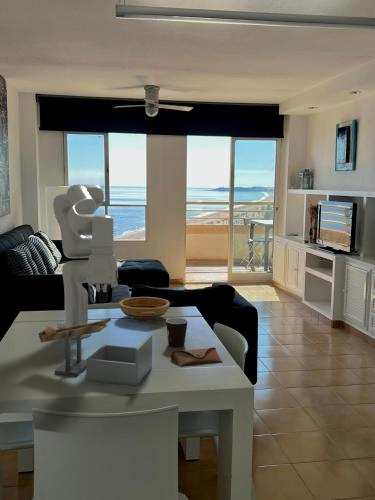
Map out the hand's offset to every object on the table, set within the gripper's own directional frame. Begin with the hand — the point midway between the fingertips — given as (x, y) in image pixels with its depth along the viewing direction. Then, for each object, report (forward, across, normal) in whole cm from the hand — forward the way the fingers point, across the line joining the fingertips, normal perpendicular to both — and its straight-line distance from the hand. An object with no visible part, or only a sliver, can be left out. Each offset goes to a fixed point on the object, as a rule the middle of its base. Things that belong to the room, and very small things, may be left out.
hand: (102, 302), depth 172 cm
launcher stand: (+22, -7, -9) cm, 25 cm away
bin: (+22, +10, -9) cm, 26 cm away
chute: (+10, -7, -4) cm, 13 cm away
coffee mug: (+22, +21, +27) cm, 41 cm away
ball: (+9, -16, -9) cm, 20 cm away
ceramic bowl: (+21, -3, +59) cm, 63 cm away
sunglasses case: (+23, +32, +11) cm, 41 cm away
